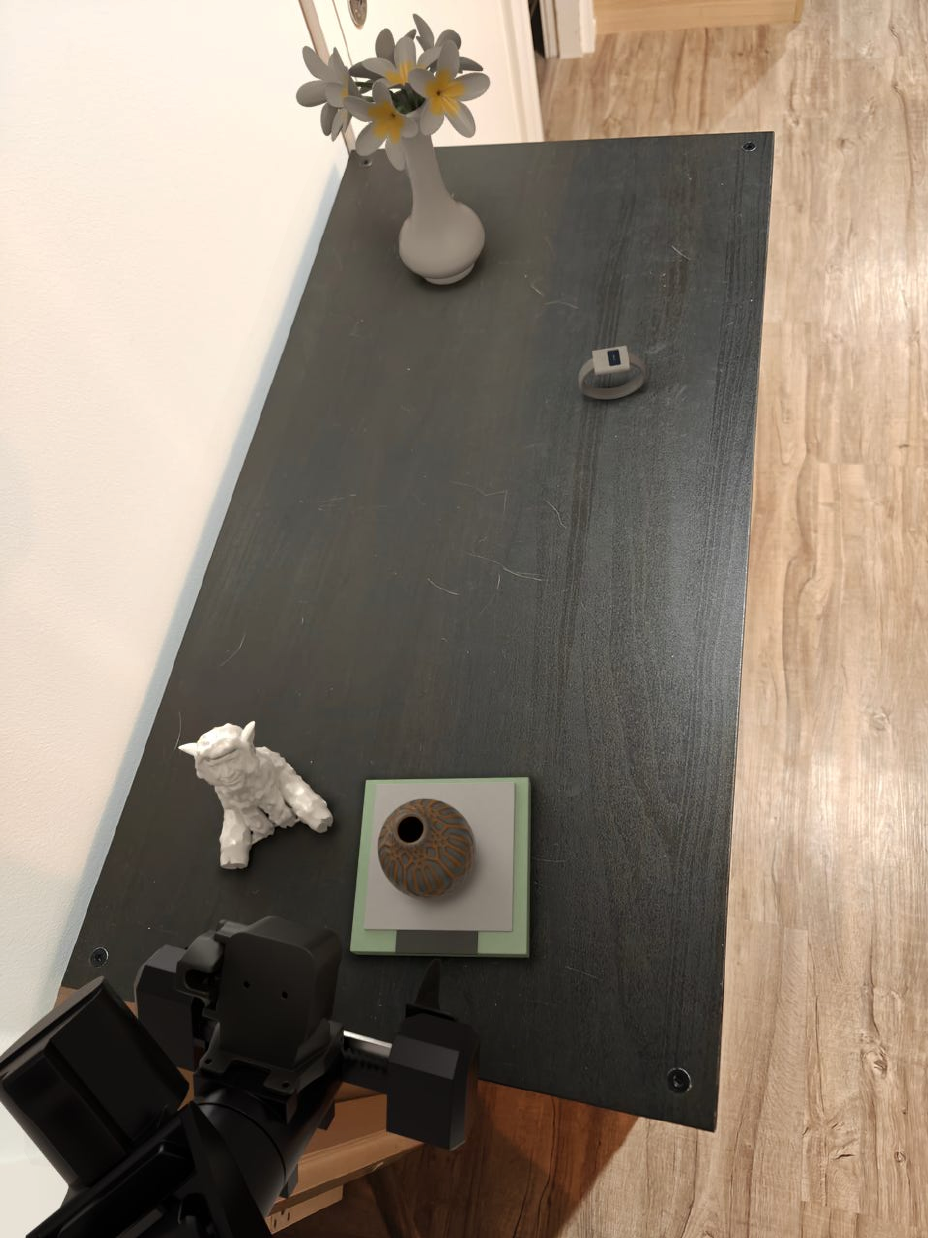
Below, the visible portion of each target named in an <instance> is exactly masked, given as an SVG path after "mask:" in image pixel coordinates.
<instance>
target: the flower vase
mask: <svg viewBox="0 0 928 1238" xmlns="http://www.w3.org/2000/svg"><path fill="white" fill-rule="evenodd" d="M412 19H413V22H414V24H415V26H416V28H413V29H410V30H409V31H408V32H407V33H406V34H404V35H403V36H402V37H400V38H399V39H398V41H396V43H395V39H394V35H393V32H392V31H391V30H390V29H389V28H386V27H384V28H383V29H381V30H380V31H379V33H378V35H377V37H376V39H375V44H374V50H375V52H374V53H375V56H376V57H368V58H365V59H363V60H360V61H357V62H355V63H354V64H352V65H351V66H350V67H348V65H345V63H344V61H343V59H342V56H341V55H340V52H339V50H338V48H337V47H336V46H334V47H333V48H332V53H331V54H330V56H329V57H328V61H327V63H325V61H323V59H322V58H321V57H320V56H319V54H318V53H317V52H316V51H315V50H314V49H313V48H312V47H310V46H308V45H304V46H303V47H302V50H301V51H302V52H301V53H302V58H303V62H304V64H305V67H306V68H307V70H308V71H309V73H310V74H311V75H312V76H313V77H314V78H316V80H310V81H308V82H305V83H304V84H302V85H300V86H299V88H298V89H297V91H296V93H295V99H296V102H297V104H298V105H300V106H302V107H304V108H315V107H318V106H321V105H323V106H322V107H321V110H320V117H319V118H320V119H319V120H320V127H321V131H322V134H323V135H324V136H325V137H329V136H330V139H331V142H332V143H334V142H335V141H336V139H337V138H338V136H339V135H340V134H341V132H343V134H346V133H347V130H348V127H349V125H350V123H351V121H352V118H354V119H356V120H358V121H360V122H363V123H368V124H366V125H365V126H363V128H362V129H361V130H360V132H358V135H357V137H356V139H355V142H354V149H355V152H356V153H357V154H358V156H361V157H368V156H370V155H372V154H374V153H375V152H376V151H378V150H379V148H380V147H382V145H383V144H384V150H385V153H386V156H387V158H388V161H389V163H390V164H391V165H392V166H393V167H394V169H395V170H397V171H399V172H401V171H404V170H405V169H407V173H408V174H407V175H408V177H409V182H410V187H411V195H412V203H411V211H410V213H409V214H408V215H407V217H406V218H405V220H404V222H403V224H402V225H401V228H400V231H399V235H398V241H397V243H398V246H397V247H398V253H399V257H400V259H401V260H402V262H403V264H404V265H405V267H407V268H408V269H409V270H410V271H412V273H414V274H415V275H418V276H420V277H422V278H423V279H425V281H427V282H429V283H431V284H434V285H439V286H441V285H442V286H443V285H451V284H455V283H457V282H459V281H461V280H463V279H465V277H467V276H468V275H469V274H470V273H471V272H472V271H473V268H474V266H475V263H476V261H478V259H479V257H480V255H481V253H482V252H483V249H484V246H485V242H486V241H485V240H486V232H485V231H486V230H485V227H484V224H483V221H482V220H481V219H480V217H479V216H478V214H477V212H475V210H474V209H472V208H470V207H469V206H468V205H467V204H465V203H464V202H461V201H459V200H456V199H455V198H454V197H453V196H452V195H451V193H450V192H449V190H448V187H447V186H446V184H445V181H444V178H443V175H442V171H441V169H440V165H439V162H438V159H437V154H436V151H435V147H434V144H433V139H432V138H433V137H432V136H433V135H434V134H435V133H437V131H439V130H440V128H441V127H442V125H443V124H444V121H445V118H446V120H447V121H448V122H449V124H450V125H451V126H452V127H453V129H454V130H455V131H456V132H457V133H458V134H459V135H461V136H462V137H463V138H466V139H471V138H473V137H474V136H475V134H476V130H477V129H476V128H477V125H476V120H475V118H474V116H473V113H472V112H471V110H470V109H469V107H468V106H467V105H466V104H465V103H464V102H469V101H473V100H476V99H478V98H480V97H481V96H483V95H484V94H485V93H487V91H488V90H489V88H490V86H491V78H490V77H489V75H487V74H486V73H483V71H484V67H483V66H482V65H481V64H480V63H478V62H477V61H475V60H473V59H472V58H470V57H466V56H460V49H461V47H462V37H461V36H460V34H459V33H458V32H457V31H456V30H454V29H450V28H447V29H444V30H443V31H441V32H440V34H439V35H438V37H437V39H436V41H435V34H434V32H433V30H432V28H431V27H430V26H429V24H428V23H427V22H426V21H425V19H423V18H422V16H420V15H418V14H417V13H412ZM417 32H418V34H419V35H417ZM414 40H416V41H417V43H418V44H419V46H420V48H421V49H422V51H423V52H422V53H421V54H420V55H419V56H418V59H417V47H416V44H415V41H414ZM464 72H468V73H464ZM463 73H464V74H463ZM458 74H460V75H459V76H458ZM353 78H357V79H368V80H365V81H354V79H353ZM393 90H397V91H395V92H394V91H393ZM368 92H371V96H370V95H365V94H366V93H368ZM384 142H385V143H384Z"/></svg>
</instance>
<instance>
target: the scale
mask: <svg viewBox="0 0 928 1238" xmlns="http://www.w3.org/2000/svg"><path fill="white" fill-rule="evenodd" d="M423 798H427V799H436V800H439V801H443V802H445V803H447V804H449V805H451V806H452V807H454V808H455V809H457V810H458V811H459V812H460V813H461V814H462V815H463V816H464V818H465V819H466V820H467V822H468V824H469V825H470V827H471V829H472V832H473V835H474V838H475V843H476V858H475V863H474V867H473V869H472V872H471V874H470V876H469V877H468V879H467V880H466V882H465V883H464V884H463V885H462V886H461V887H460V888H459V889H458V890H457V891H455V892H454V893H452V894H450V895H449V896H446V897H444V898H441V899H436V900H420V899H415V898H412V897H410V896H408V895H405V894H404V893H402V892H401V891H399V890H398V889H397V888H395V887H394V886H393V885H392V884H391V883H390V882H389V880H388V879H387V878H386V876H385V874H384V873H383V871H382V868H381V866H380V863H379V858H378V838H379V834H380V831H381V828H382V826H383V824H384V822H385V820H386V819H387V817H388V816H389V815H390V814H391V813H392V812H393V811H394V810H395V809H396V808H398V807H399V806H401V805H402V804H404V803H406V802H409V801H412V800H415V799H423ZM531 817H532V783H531V781H530V778H529V777H528V776H527V777H524V776H522V777H468V778H467V777H465V778H415V779H414V778H409V779H408V778H407V779H366V780H365V787H364V799H363V810H362V817H361V830H360V841H359V851H358V852H359V853H358V862H357V871H356V883H355V892H354V893H355V894H354V905H353V913H352V915H353V916H352V924H351V926H352V927H351V935H350V946H349V951H350V952H351V953H353V954H354V955H356V956H357V955H358V956H361V955H362V956H363V955H364V956H409V957H410V956H415V957H466V958H467V957H469V958H470V957H471V958H472V957H475V958H523V959H524V958H530V921H531V919H530V918H531V916H530V914H531V912H530V909H531V833H532V832H531V831H532V830H531V827H532V825H531V824H532V823H531V822H532V821H531V820H532V818H531Z"/></svg>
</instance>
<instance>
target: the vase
mask: <svg viewBox="0 0 928 1238" xmlns="http://www.w3.org/2000/svg"><path fill="white" fill-rule="evenodd" d="M378 858H379V863H380V866H381V868H382V871H383V873H384V874H385V876H386V878H387V879H388V880H389V882H390V883H391V884H392V885H393V886H394V887H395V888H397V889H398V890H399V891H401V892H402V893H404V894H405V895H408V896H410V897H412V898H415V899H420V900H436V899H441V898H444V897H446V896H449V895H450V894H452V893H454V892H455V891H457V890H458V889H459V888H460V887H461V886H462V885H463V884H464V883H465V882H466V880H467V879H468V877H469V876H470V874H471V872H472V869H473V867H474V863H475V858H476V843H475V838H474V835H473V832H472V829H471V827H470V825H469V824H468V822H467V820H466V819H465V818H464V816H463V815H462V814H461V813H460V812H459V811H458V810H457V809H455V808H454V807H452V806H451V805H449V804H447V803H445V802H443V801H439V800H436V799H427V798H423V799H415V800H412V801H409V802H406V803H404V804H402V805H401V806H399V807H398V808H396V809H395V810H394V811H393V812H392V813H391V814H390V815H389V816H388V817H387V819H386V820H385V822H384V824H383V826H382V828H381V831H380V834H379V838H378Z"/></svg>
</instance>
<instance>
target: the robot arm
mask: <svg viewBox="0 0 928 1238" xmlns="http://www.w3.org/2000/svg"><path fill="white" fill-rule="evenodd" d="M341 940H342V939H340V937H339V935H338V934H337V933H335V932H334V931H333V930H331V929H328V928H326V927H321V926H313V925H312V926H311V925H309V924H303V923H299V922H295V921H292V920H286V919H285V918H284V917H281V916H276V915H267V916H265V917H263V918H261V919H259V920H257V921H255V922H254V923H252V924H245V923H241V922H238V921H233V920H229V919H226V918H222V919H220V921H219V922H218V924H217V926H216V929H215V930H213V929H209V930H208V931H206V932H204V933H202V934H200V935H198V936H197V937H196V938H195V939H194V940H193V941H192V942H191V944H190V945H187V946H185V947H184V948H182V947H178V946H175V945H170V944H167V943H164V944H163V945H162V946H161V947H159V948H158V949H157V950H156V951H155V952H154V953H153V954H152V955H151V956H150V957H149V958H148V959H147V960H145V962H144V963H143V964H142V965H141V966H140V967H139V969H138V971H137V973H136V976H135V979H134V981H133V993H134V1005H135V1006H134V1007H135V1013H134V1012H133V1011H132V1010H131V1008H130V1007H129V1006H128V1004H127V1003H126V1002H125V1000H124V999H123V998H122V997H121V995H119V993H118V991H117V990H116V989H115V988H114V987H113V986H112V984H111V983H110V982H109V981H108V979H107V978H106V977H105V976H104V975H101V976H98V977H96V978H94V979H92V980H91V981H89V982H87V983H86V984H84V985H83V986H82V987H80V988H79V989H78V990H76V991H74V993H72V994H71V995H69V996H68V997H67V998H65V999H64V1000H62V1002H60V1003H59V1004H58V1005H56V1006H55V1007H54V1008H52V1010H50V1011H49V1012H48V1013H47V1014H45V1015H44V1016H43V1017H42V1018H40V1019H39V1020H38V1021H37V1022H36V1023H34V1024H33V1025H32V1026H31V1027H30V1028H29V1029H28V1030H27V1031H25V1032H24V1033H23V1034H22V1035H21V1036H20V1037H19V1038H17V1040H16V1041H14V1042H13V1043H12V1044H11V1045H10V1046H9V1047H8V1048H7V1049H6V1050H5V1051H3V1053H2V1054H1V1055H0V1103H1V1104H2V1106H3V1107H4V1109H6V1110H7V1112H8V1113H9V1114H10V1116H11V1117H12V1118H13V1119H14V1120H15V1122H16V1123H17V1124H18V1126H20V1128H21V1129H22V1130H23V1132H24V1133H25V1134H26V1136H28V1137H29V1139H30V1140H31V1141H32V1142H33V1144H34V1145H35V1146H36V1147H37V1149H38V1150H39V1151H40V1153H41V1154H42V1155H43V1156H44V1157H45V1158H46V1160H47V1161H48V1162H49V1164H50V1165H51V1166H52V1168H53V1169H54V1170H55V1171H56V1172H57V1173H58V1175H59V1176H60V1177H61V1178H62V1180H63V1181H64V1182H65V1183H66V1185H67V1187H68V1188H67V1191H66V1193H65V1196H64V1198H63V1200H62V1202H61V1204H60V1206H59V1208H57V1209H56V1210H55V1211H54V1212H53V1213H52V1214H50V1215H49V1216H48V1217H46V1218H45V1219H44V1220H43V1221H41V1222H40V1223H39V1224H38V1225H36V1227H34V1228H33V1229H32V1230H30V1231H29V1232H28V1233H27V1234H26V1235H25V1237H24V1238H274V1236H273V1234H272V1232H271V1230H270V1228H269V1225H268V1223H267V1222H266V1219H267V1218H268V1216H269V1214H270V1213H271V1210H272V1209H273V1207H274V1205H275V1203H276V1201H277V1200H278V1198H282V1199H284V1200H285V1199H286V1200H289V1199H290V1198H291V1196H292V1194H293V1192H294V1190H295V1188H296V1187H297V1185H298V1183H299V1162H300V1160H301V1158H302V1156H303V1154H304V1153H305V1151H306V1149H307V1148H308V1145H309V1144H310V1142H311V1141H312V1139H313V1137H314V1135H315V1133H316V1131H318V1130H322V1131H325V1132H327V1130H328V1129H329V1128H330V1125H331V1124H332V1122H333V1120H334V1118H335V1116H336V1096H337V1095H338V1093H339V1091H340V1089H341V1087H342V1086H343V1084H344V1083H345V1084H348V1085H352V1086H354V1087H355V1086H356V1087H359V1088H362V1089H364V1090H369V1091H372V1092H374V1093H375V1092H376V1093H379V1094H383V1095H385V1096H386V1106H385V1107H386V1109H385V1110H386V1111H385V1113H386V1114H385V1132H386V1133H389V1134H394V1135H397V1136H400V1137H404V1138H406V1139H410V1140H413V1141H416V1142H420V1143H422V1144H426V1145H429V1146H432V1147H436V1148H439V1149H443V1150H446V1151H449V1152H450V1151H455V1150H457V1149H458V1148H460V1147H461V1146H462V1145H463V1144H465V1143H466V1142H467V1141H468V1139H469V1135H470V1133H471V1131H472V1128H473V1125H474V1123H475V1120H476V1117H477V1105H478V1090H479V1072H480V1059H481V1057H480V1055H481V1040H482V1037H481V1036H480V1035H479V1033H478V1032H477V1031H476V1030H475V1029H474V1028H473V1026H472V1025H470V1024H466V1023H464V1022H463V1023H462V1022H460V1021H459V1019H458V1017H457V1016H455V1015H454V1014H452V1013H451V1012H446V1011H443V1010H441V1008H440V987H441V986H440V984H441V969H442V968H441V964H442V960H441V959H439V958H433V959H432V961H431V962H430V964H429V965H428V966H427V968H426V970H425V972H424V975H423V976H422V980H421V981H420V985H419V986H418V990H417V992H416V995H415V997H414V999H413V1002H409V1001H407V1002H405V1005H404V1006H405V1008H404V1009H405V1010H404V1018H402V1019H401V1022H400V1023H399V1025H398V1027H397V1029H396V1031H395V1033H394V1035H393V1040H392V1043H390V1042H387V1041H383V1040H379V1039H376V1038H373V1037H369V1036H366V1035H362V1034H358V1033H355V1032H351V1031H348V1030H345V1024H344V1023H342V1022H339V1021H335V1020H331V1018H332V1014H333V1011H334V1005H335V1004H334V1003H335V998H336V997H335V996H336V991H337V983H338V978H339V971H340V965H341V963H342V959H343V954H344V953H343V950H344V949H343V948H344V947H343V943H342V941H341ZM179 1069H182V1070H185V1071H188V1072H192V1073H193V1074H192V1086H193V1087H192V1089H193V1098H192V1099H191V1100H189V1101H188V1102H186V1104H184V1105H183V1102H184V1101H185V1100H186V1097H187V1096H188V1092H189V1090H190V1082H189V1081H188V1080H187V1078H186V1077H185V1076H184V1075H183V1073H182V1072H181V1071H180V1070H179ZM182 1105H183V1106H182ZM181 1106H182V1107H181Z"/></svg>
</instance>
